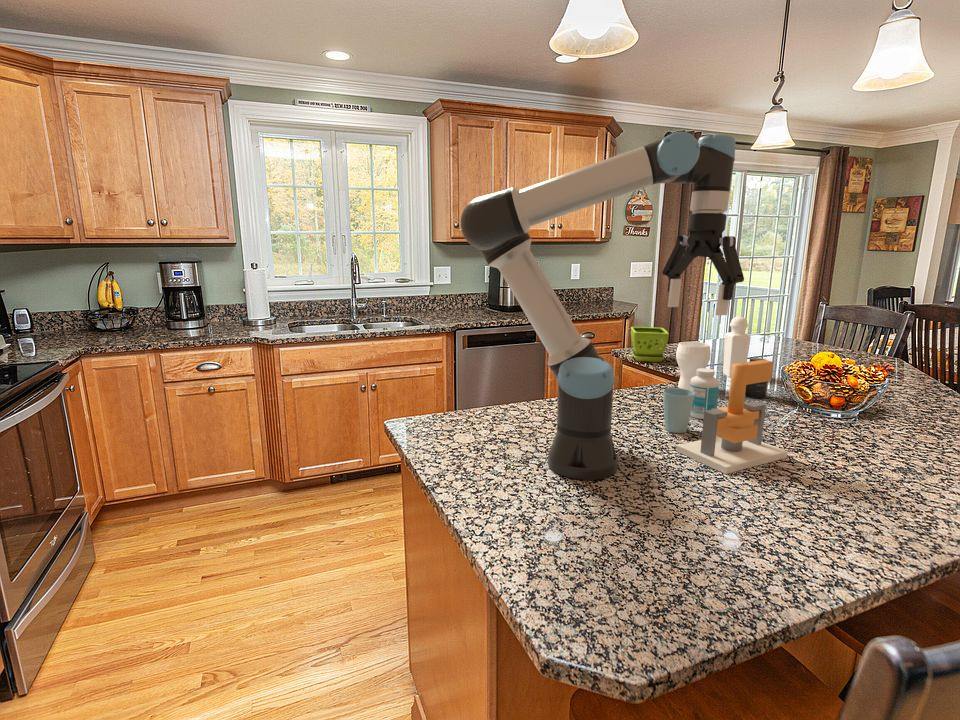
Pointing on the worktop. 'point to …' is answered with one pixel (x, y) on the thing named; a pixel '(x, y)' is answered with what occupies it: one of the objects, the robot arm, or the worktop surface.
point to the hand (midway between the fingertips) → (696, 310)
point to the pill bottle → (704, 392)
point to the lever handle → (742, 401)
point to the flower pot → (649, 343)
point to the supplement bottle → (756, 387)
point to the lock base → (733, 457)
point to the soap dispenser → (736, 344)
